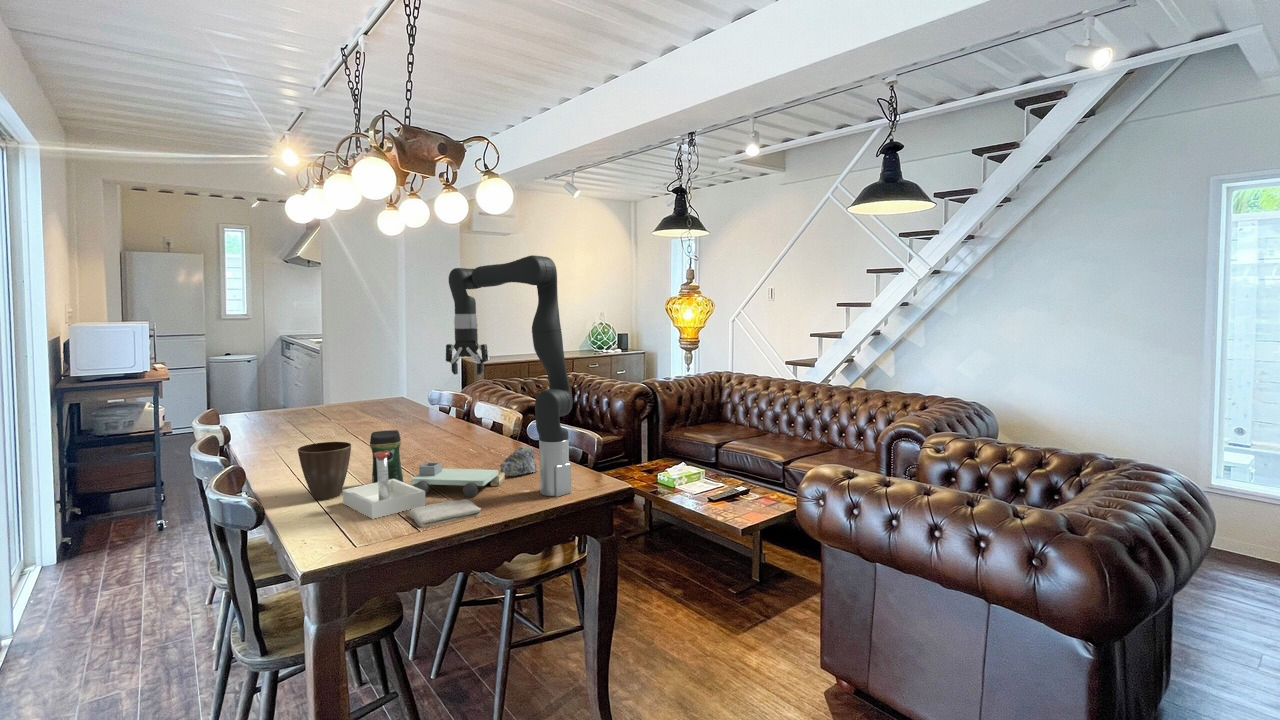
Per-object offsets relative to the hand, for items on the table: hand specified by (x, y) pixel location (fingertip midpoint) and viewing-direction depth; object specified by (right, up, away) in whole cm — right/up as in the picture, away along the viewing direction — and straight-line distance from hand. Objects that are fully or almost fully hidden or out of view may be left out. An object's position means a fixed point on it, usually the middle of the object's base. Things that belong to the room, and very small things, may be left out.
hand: (467, 374), depth 211 cm
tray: (-18, -39, -27) cm, 50 cm away
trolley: (-1, -37, -11) cm, 39 cm away
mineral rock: (+16, -36, +7) cm, 40 cm away
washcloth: (+4, -40, -36) cm, 54 cm away
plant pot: (-39, -38, -18) cm, 58 cm away
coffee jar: (-25, -37, -6) cm, 45 cm away
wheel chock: (+12, -37, -5) cm, 39 cm away
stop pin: (-18, -38, -27) cm, 49 cm away
